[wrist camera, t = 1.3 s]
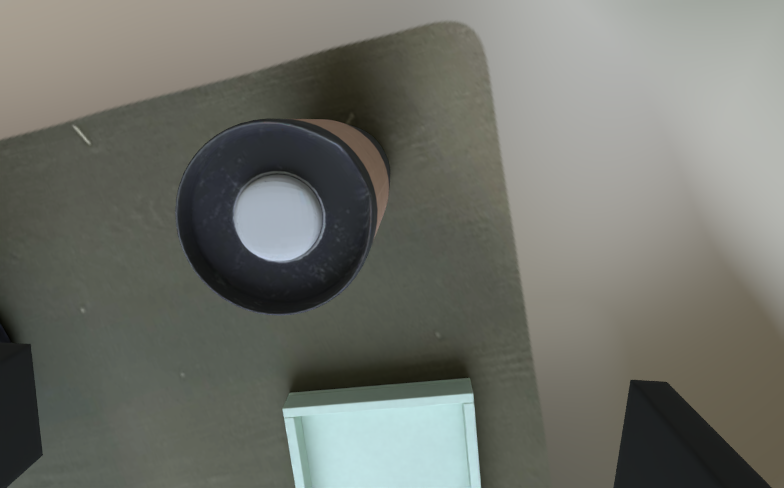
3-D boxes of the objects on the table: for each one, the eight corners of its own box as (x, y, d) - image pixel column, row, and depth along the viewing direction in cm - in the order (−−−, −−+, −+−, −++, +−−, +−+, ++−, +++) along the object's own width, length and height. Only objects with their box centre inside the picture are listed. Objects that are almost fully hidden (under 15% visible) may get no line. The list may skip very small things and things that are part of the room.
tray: (289, 392, 43) (282, 408, 41) (469, 377, 42) (473, 393, 40) (314, 545, 46) (308, 569, 44) (482, 534, 45) (487, 557, 43)
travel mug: (281, 211, 40) (157, 294, 20) (301, 109, 38) (186, 92, 19) (380, 235, 40) (351, 339, 21) (404, 134, 38) (397, 143, 19)
